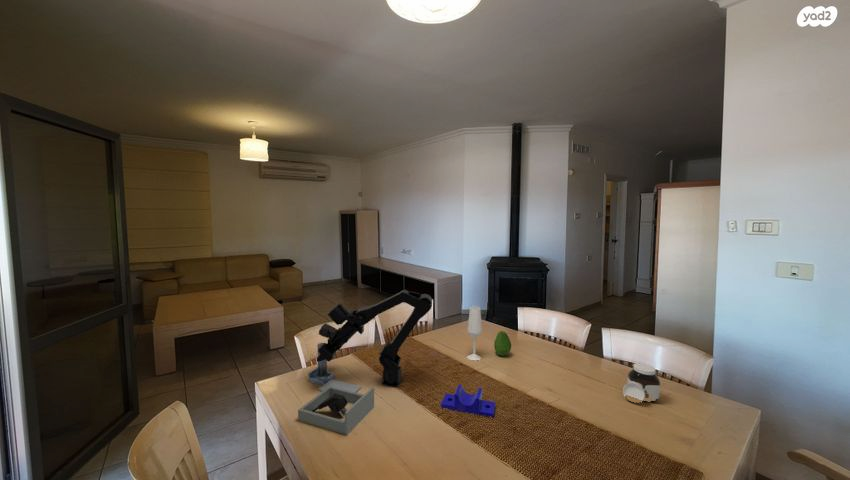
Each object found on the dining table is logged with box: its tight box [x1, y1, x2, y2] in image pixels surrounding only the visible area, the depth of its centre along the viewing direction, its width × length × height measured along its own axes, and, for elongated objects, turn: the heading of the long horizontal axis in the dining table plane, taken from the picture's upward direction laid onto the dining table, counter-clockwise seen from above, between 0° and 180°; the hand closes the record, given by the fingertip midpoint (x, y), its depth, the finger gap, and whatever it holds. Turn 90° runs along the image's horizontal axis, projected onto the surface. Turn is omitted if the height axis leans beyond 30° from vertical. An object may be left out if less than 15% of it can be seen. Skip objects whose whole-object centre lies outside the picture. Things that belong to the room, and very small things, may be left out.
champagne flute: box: [466, 305, 483, 362], centre depth 154 cm, size 7×7×24 cm
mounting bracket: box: [440, 384, 497, 418], centre depth 115 cm, size 18×7×6 cm, turn 72°
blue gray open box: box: [307, 366, 336, 386], centre depth 133 cm, size 8×7×4 cm
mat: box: [317, 379, 362, 393], centre depth 125 cm, size 14×8×1 cm, turn 69°
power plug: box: [312, 393, 349, 418], centre depth 110 cm, size 6×8×12 cm
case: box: [297, 386, 375, 436], centre depth 110 cm, size 19×16×7 cm
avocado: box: [493, 330, 512, 357], centre depth 157 cm, size 8×8×12 cm
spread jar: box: [622, 362, 661, 403], centre depth 121 cm, size 12×11×12 cm
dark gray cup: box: [316, 342, 328, 377], centre depth 132 cm, size 4×4×12 cm
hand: (319, 358), depth 132 cm, fingers closed on dark gray cup, 4 cm apart
